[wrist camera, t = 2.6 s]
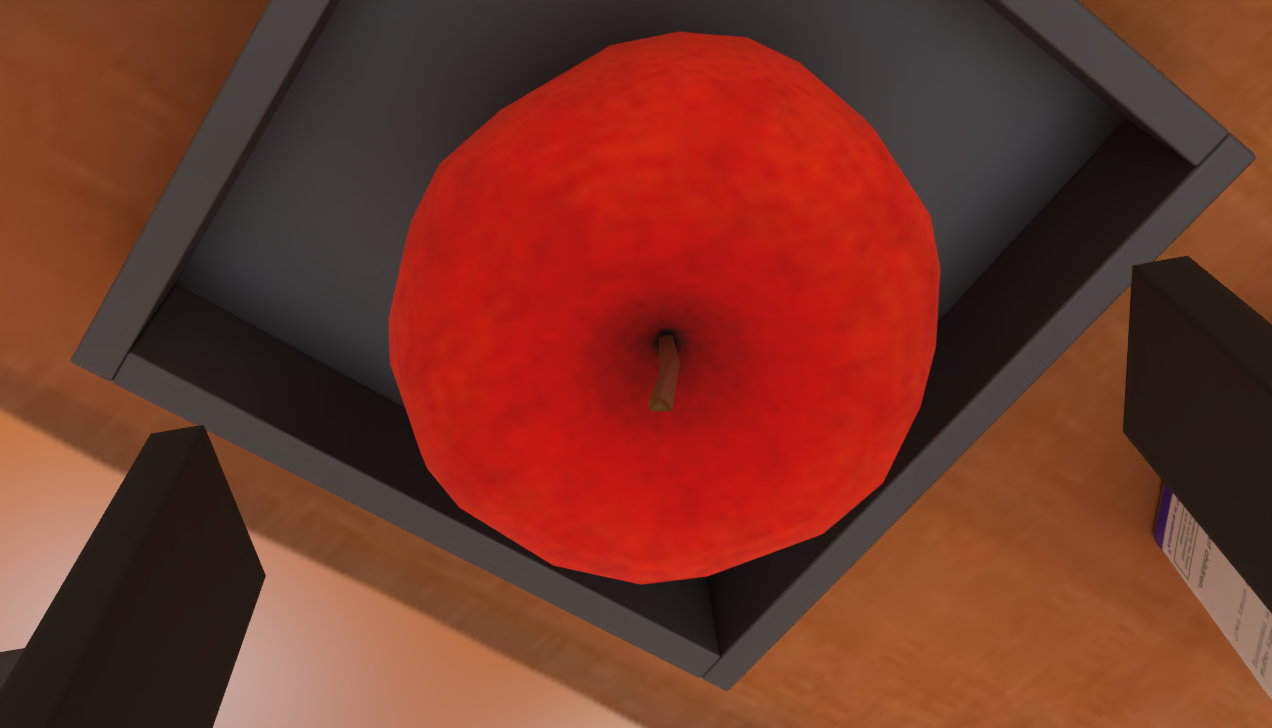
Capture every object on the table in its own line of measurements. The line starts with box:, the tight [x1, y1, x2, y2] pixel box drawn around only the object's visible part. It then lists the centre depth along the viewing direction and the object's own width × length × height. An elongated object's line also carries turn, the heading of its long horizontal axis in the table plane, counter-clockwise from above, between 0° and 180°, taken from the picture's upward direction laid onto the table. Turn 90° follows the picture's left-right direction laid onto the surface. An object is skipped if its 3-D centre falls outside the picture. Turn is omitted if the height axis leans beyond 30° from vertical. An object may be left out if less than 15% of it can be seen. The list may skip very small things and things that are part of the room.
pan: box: [71, 0, 1256, 691], centre depth 22 cm, size 16×16×4 cm
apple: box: [388, 31, 940, 585], centre depth 20 cm, size 9×9×8 cm
